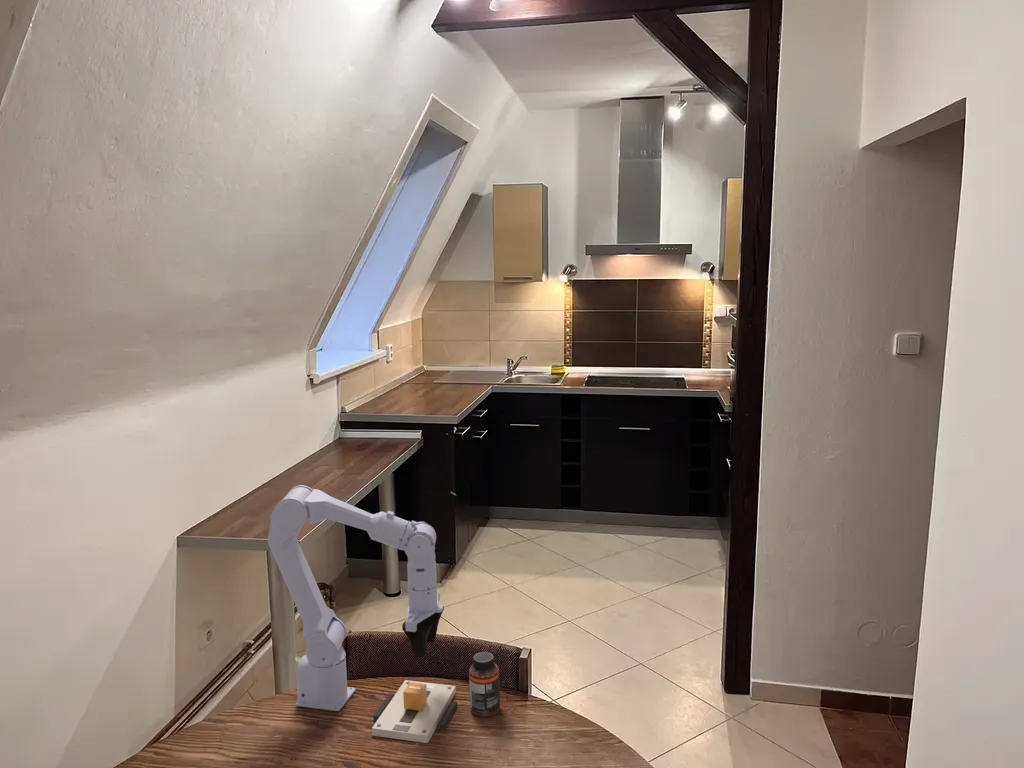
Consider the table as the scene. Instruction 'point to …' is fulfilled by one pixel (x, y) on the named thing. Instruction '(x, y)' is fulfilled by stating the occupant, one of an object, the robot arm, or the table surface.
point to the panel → (414, 714)
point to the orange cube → (415, 696)
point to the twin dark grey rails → (442, 723)
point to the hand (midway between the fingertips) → (424, 648)
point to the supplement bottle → (484, 685)
